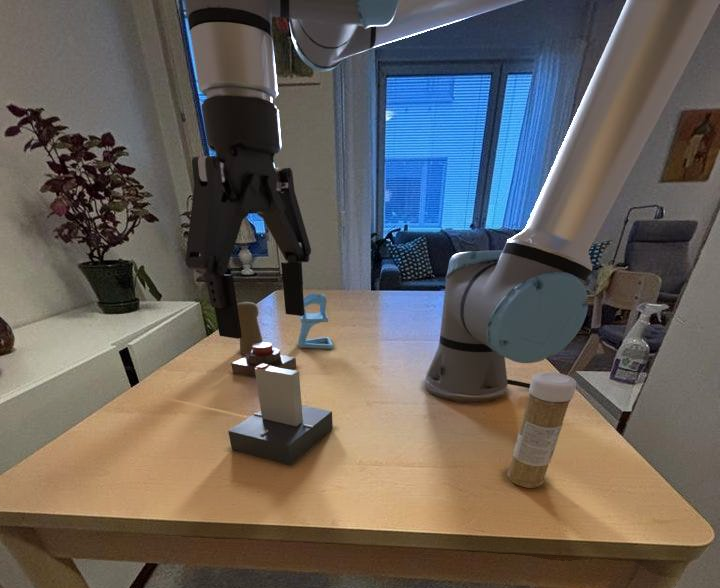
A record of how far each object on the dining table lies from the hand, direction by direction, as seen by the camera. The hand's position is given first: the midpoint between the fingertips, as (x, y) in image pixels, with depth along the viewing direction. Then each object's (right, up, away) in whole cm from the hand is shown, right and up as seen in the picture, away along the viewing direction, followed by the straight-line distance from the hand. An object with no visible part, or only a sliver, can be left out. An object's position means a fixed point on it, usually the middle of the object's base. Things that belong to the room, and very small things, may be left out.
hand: (266, 324), depth 51 cm
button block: (-8, +3, +33) cm, 34 cm away
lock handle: (+1, -11, +6) cm, 13 cm away
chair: (+1, +14, +49) cm, 51 cm away
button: (-8, +6, +31) cm, 33 cm away
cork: (-14, +11, +45) cm, 48 cm away
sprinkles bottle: (+33, -20, -1) cm, 39 cm away
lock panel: (+1, -14, +8) cm, 16 cm away
